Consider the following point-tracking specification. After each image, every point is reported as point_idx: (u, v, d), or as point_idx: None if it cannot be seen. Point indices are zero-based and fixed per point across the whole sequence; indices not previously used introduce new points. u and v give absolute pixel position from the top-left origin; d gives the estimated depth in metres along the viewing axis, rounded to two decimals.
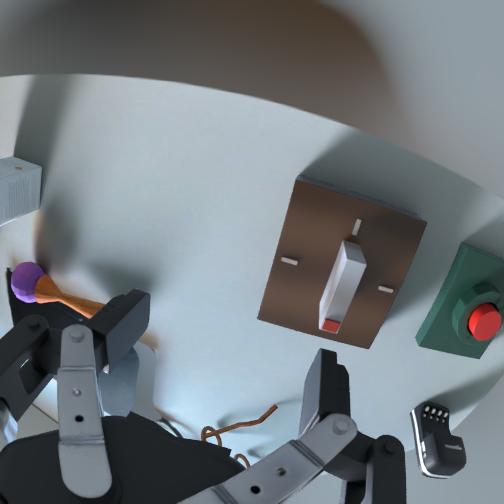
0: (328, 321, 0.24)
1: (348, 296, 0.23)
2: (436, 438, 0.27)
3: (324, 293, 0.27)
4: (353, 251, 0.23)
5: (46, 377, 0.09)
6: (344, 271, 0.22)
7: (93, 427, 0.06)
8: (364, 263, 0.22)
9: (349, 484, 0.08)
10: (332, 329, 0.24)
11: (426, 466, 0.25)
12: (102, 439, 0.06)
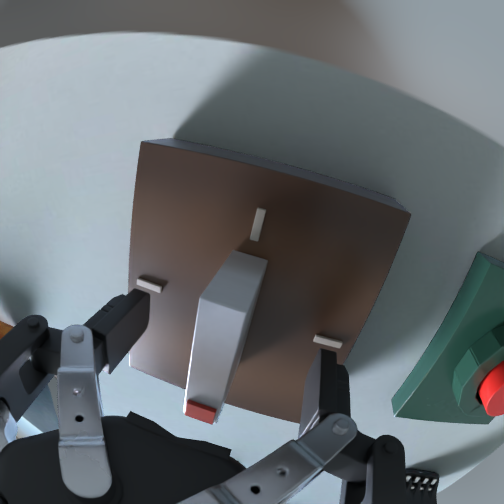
0: (192, 405, 0.12)
1: (220, 370, 0.11)
2: None
3: None
4: (236, 276, 0.11)
5: (46, 377, 0.09)
6: (200, 324, 0.10)
7: (93, 427, 0.06)
8: (242, 309, 0.10)
9: (349, 484, 0.08)
10: (203, 418, 0.12)
11: None
12: (102, 439, 0.06)
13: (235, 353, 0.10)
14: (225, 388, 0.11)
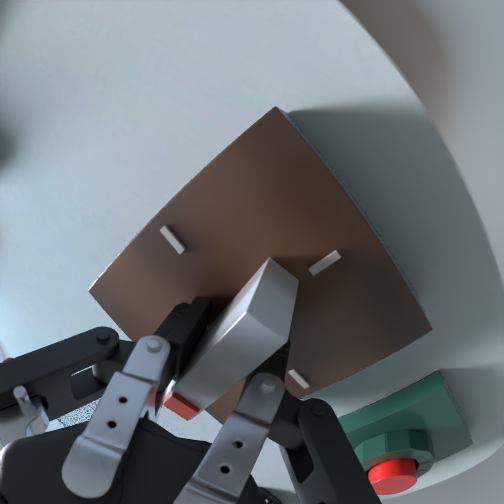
0: (177, 399, 0.11)
1: (226, 379, 0.10)
2: None
3: (203, 335, 0.14)
4: (275, 293, 0.11)
5: (103, 390, 0.10)
6: (231, 334, 0.09)
7: (121, 437, 0.06)
8: (283, 336, 0.09)
9: (290, 454, 0.09)
10: (182, 413, 0.11)
11: None
12: (122, 451, 0.06)
13: (252, 370, 0.10)
14: (221, 395, 0.11)
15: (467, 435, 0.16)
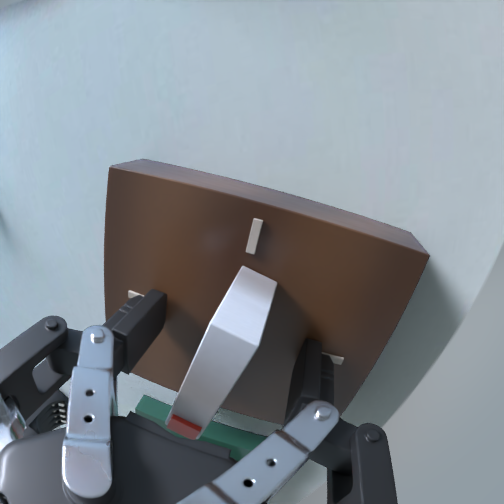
0: (177, 421, 0.11)
1: (215, 394, 0.10)
2: None
3: None
4: (246, 300, 0.11)
5: (61, 379, 0.10)
6: (204, 348, 0.09)
7: (101, 429, 0.06)
8: (254, 342, 0.09)
9: (334, 474, 0.08)
10: (186, 434, 0.11)
11: None
12: (108, 442, 0.06)
13: (235, 381, 0.10)
14: (216, 411, 0.10)
15: None
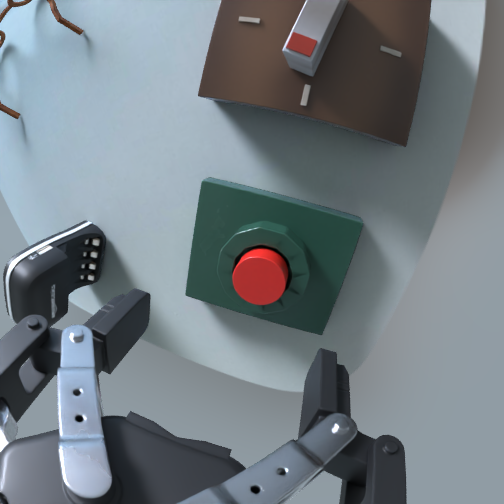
0: (297, 35, 0.12)
1: (329, 5, 0.12)
2: (60, 265, 0.21)
3: None
4: None
5: (46, 377, 0.09)
6: None
7: (93, 427, 0.06)
8: None
9: (349, 484, 0.08)
10: (304, 48, 0.13)
11: (17, 265, 0.18)
12: (102, 439, 0.06)
13: None
14: (330, 20, 0.12)
15: (329, 314, 0.24)
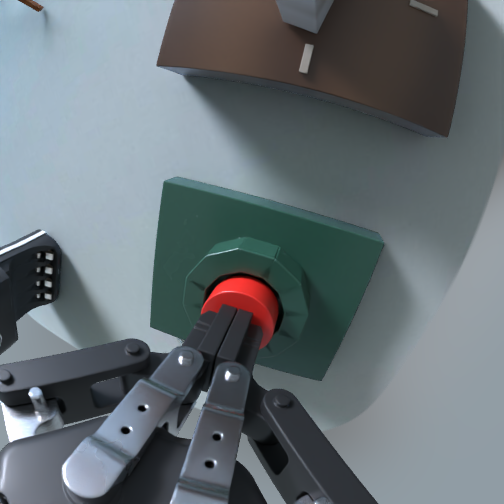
0: None
1: None
2: None
3: None
4: None
5: None
6: None
7: (131, 445, 0.06)
8: None
9: (261, 447, 0.09)
10: None
11: None
12: (129, 459, 0.06)
13: None
14: None
15: (332, 357, 0.18)
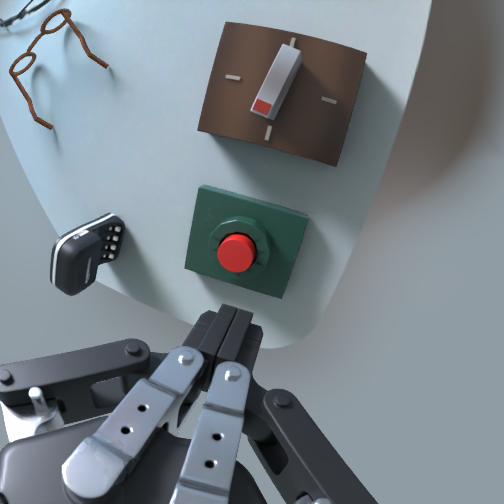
0: (260, 100, 0.23)
1: (281, 78, 0.22)
2: (96, 244, 0.31)
3: None
4: None
5: None
6: (279, 54, 0.21)
7: (131, 445, 0.06)
8: (298, 50, 0.21)
9: (261, 447, 0.09)
10: (263, 110, 0.23)
11: (65, 243, 0.28)
12: (129, 459, 0.06)
13: (291, 69, 0.22)
14: (281, 89, 0.22)
15: (286, 283, 0.35)
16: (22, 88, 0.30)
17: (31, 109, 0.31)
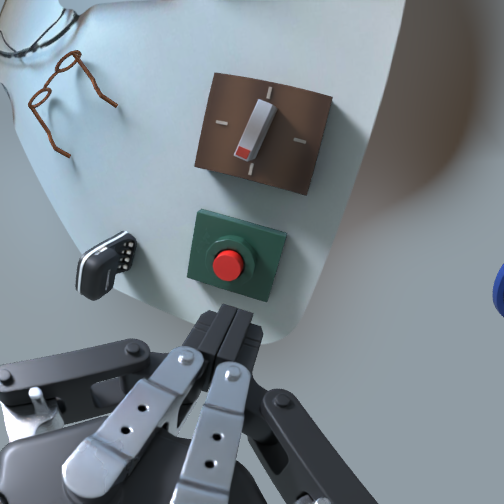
0: (241, 148, 0.31)
1: (257, 128, 0.30)
2: (114, 258, 0.39)
3: None
4: None
5: None
6: (255, 108, 0.29)
7: (131, 445, 0.06)
8: (271, 104, 0.29)
9: (260, 447, 0.09)
10: (243, 155, 0.31)
11: (88, 258, 0.36)
12: (129, 459, 0.06)
13: (265, 121, 0.29)
14: (257, 138, 0.30)
15: (270, 289, 0.42)
16: (41, 120, 0.39)
17: (51, 140, 0.40)
